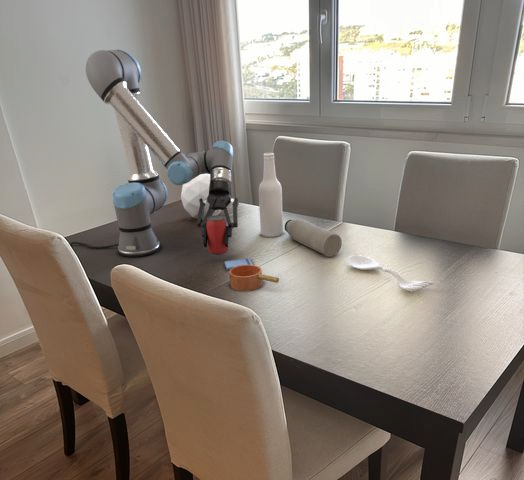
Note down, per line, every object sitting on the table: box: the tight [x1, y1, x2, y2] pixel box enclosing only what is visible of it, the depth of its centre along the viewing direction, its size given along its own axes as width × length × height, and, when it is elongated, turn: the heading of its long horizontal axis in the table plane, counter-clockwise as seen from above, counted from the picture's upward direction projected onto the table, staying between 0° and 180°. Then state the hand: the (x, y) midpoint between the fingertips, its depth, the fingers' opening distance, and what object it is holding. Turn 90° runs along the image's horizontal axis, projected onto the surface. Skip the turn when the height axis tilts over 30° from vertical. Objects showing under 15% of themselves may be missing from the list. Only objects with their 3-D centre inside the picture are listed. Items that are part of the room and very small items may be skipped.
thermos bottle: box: [284, 218, 343, 258], centre depth 178 cm, size 8×8×28 cm
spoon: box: [346, 254, 435, 293], centre depth 150 cm, size 9×32×4 cm, turn 29°
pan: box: [228, 264, 263, 292], centre depth 151 cm, size 10×10×4 cm
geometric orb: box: [180, 173, 223, 220], centre depth 212 cm, size 19×20×20 cm
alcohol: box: [258, 152, 284, 238], centre depth 186 cm, size 9×9×30 cm
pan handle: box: [258, 273, 280, 284], centre depth 146 cm, size 7×2×2 cm, turn 56°
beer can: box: [206, 214, 229, 256], centre depth 167 cm, size 7×7×12 cm
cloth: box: [224, 258, 253, 271], centre depth 166 cm, size 6×9×1 cm
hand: (215, 245), depth 165 cm, fingers closed on beer can, 7 cm apart
